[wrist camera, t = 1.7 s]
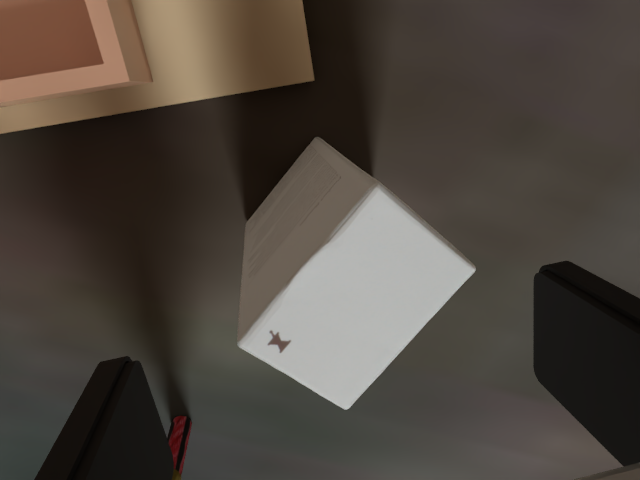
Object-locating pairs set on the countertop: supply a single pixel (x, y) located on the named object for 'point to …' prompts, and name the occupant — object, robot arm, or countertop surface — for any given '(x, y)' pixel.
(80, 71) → the pink square tray
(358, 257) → the skincare box
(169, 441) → the lantern
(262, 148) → the countertop surface
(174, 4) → the board
